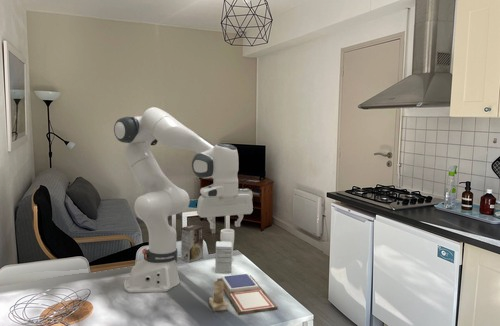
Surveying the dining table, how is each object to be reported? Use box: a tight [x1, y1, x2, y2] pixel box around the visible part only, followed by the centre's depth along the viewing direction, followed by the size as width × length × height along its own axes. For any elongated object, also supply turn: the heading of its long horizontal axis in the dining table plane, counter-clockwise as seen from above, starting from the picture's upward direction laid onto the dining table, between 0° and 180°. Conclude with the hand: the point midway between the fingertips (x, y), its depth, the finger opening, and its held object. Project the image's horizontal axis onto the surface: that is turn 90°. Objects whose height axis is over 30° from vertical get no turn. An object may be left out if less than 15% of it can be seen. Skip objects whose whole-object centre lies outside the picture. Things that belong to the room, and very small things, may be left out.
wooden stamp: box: [208, 280, 228, 314], centre depth 141 cm, size 5×7×9 cm
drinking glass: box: [219, 228, 235, 255], centre depth 188 cm, size 7×7×15 cm
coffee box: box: [180, 223, 204, 263], centre depth 188 cm, size 9×6×16 cm
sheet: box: [231, 290, 274, 311], centre depth 145 cm, size 13×14×1 cm
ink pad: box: [220, 273, 260, 292], centre depth 159 cm, size 12×13×2 cm
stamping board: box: [216, 274, 279, 316], centre depth 152 cm, size 15×30×1 cm, turn 19°
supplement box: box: [214, 241, 233, 274], centre depth 175 cm, size 7×7×13 cm
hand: (225, 227), depth 138 cm, fingers open, 8 cm apart
